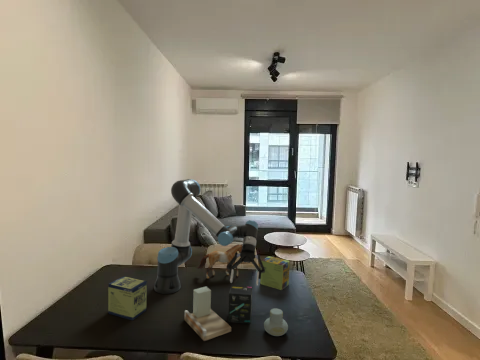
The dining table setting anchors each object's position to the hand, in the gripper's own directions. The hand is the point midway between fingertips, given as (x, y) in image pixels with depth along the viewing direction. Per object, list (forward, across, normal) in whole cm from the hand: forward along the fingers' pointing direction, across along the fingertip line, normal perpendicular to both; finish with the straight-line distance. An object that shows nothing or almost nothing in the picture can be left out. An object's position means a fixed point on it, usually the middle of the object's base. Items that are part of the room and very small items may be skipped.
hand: (243, 283), depth 155 cm
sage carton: (+16, -19, +1) cm, 25 cm away
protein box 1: (+21, -56, 0) cm, 60 cm away
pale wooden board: (+22, -14, -1) cm, 26 cm away
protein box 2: (-16, +14, +37) cm, 42 cm away
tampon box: (+16, 0, +6) cm, 17 cm away
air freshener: (+21, +18, 0) cm, 28 cm away
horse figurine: (-20, -23, +41) cm, 51 cm away
